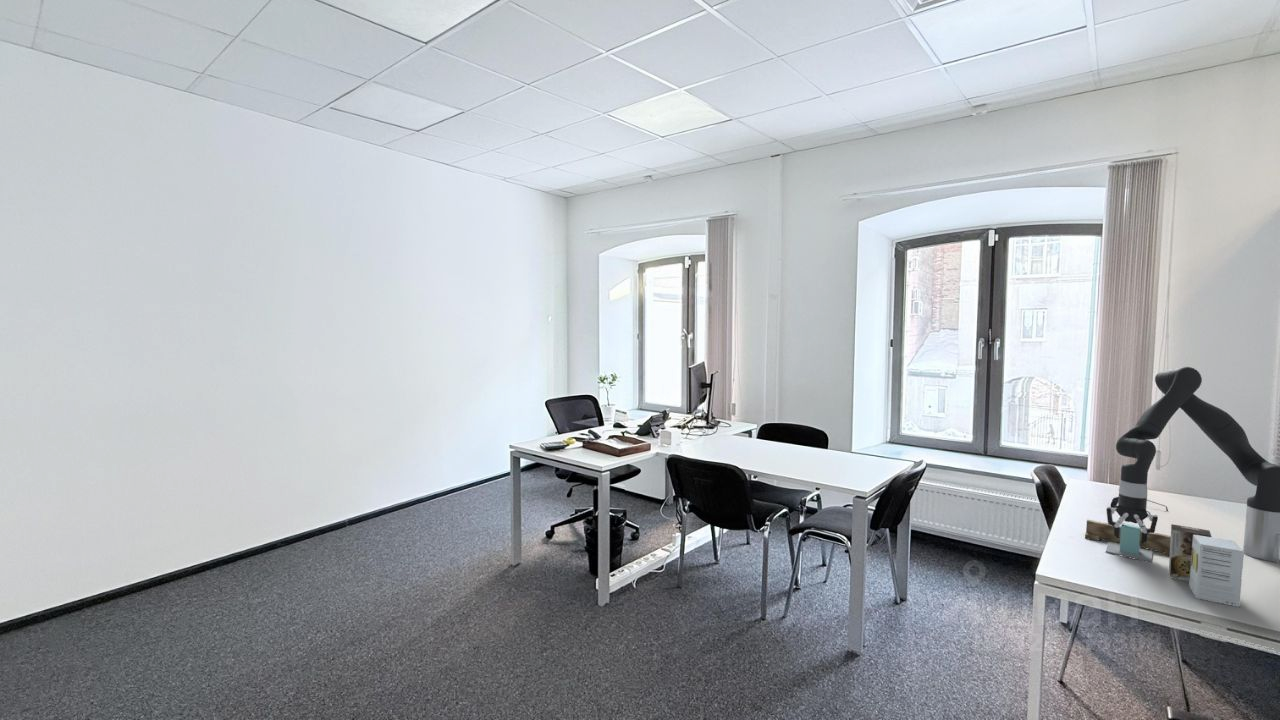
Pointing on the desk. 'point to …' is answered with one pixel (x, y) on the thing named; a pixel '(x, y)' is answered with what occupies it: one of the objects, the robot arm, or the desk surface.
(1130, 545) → the teal block
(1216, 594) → the supplement box
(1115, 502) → the sunglasses
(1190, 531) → the coffee box
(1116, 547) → the grey mat
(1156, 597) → the desk surface
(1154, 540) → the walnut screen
